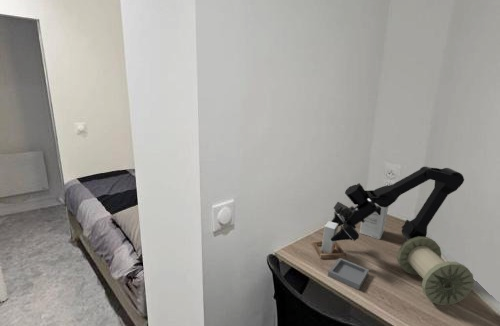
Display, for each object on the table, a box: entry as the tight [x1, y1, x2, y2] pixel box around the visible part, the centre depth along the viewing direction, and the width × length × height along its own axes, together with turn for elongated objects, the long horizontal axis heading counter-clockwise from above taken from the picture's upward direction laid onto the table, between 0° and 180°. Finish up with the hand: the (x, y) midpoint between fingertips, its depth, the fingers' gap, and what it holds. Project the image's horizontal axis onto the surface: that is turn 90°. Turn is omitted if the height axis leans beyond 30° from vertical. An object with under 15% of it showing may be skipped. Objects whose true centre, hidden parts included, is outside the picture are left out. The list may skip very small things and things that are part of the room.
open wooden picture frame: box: [311, 240, 347, 260], centre depth 115 cm, size 10×10×2 cm
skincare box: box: [320, 220, 339, 254], centre depth 113 cm, size 6×4×12 cm
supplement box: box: [359, 198, 390, 240], centre depth 130 cm, size 10×9×17 cm
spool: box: [396, 236, 475, 306], centre depth 94 cm, size 16×15×15 cm
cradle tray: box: [327, 258, 370, 291], centre depth 100 cm, size 11×11×2 cm
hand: (329, 234), depth 113 cm, fingers open, 9 cm apart
